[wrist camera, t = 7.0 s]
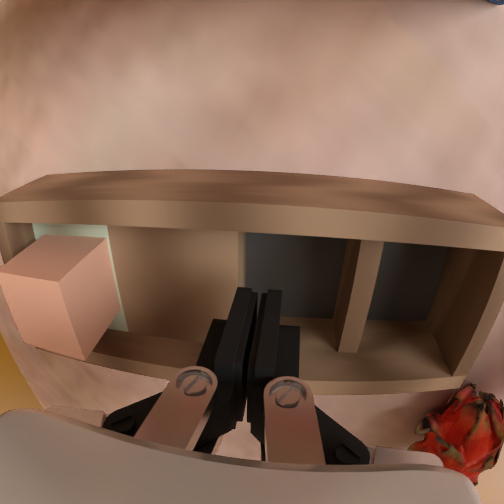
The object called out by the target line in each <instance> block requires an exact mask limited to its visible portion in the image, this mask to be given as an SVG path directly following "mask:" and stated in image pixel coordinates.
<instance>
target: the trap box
mask: <svg viewBox="0 0 504 504" xmlns="http://www.w3.org/2000/svg"><path fill="white" fill-rule="evenodd" d="M45 234H51V235H68V236H86V237H103V238H107V242H108V248H109V254H110V259H111V264H112V270H113V275H114V280H115V284H116V289H117V294H118V298H119V302H120V307H121V310H120V311H119V313H118V314H117V315H116V317H115V318H114V320H113V321H112V323H111V324H110V325H109V327H108V328H107V330H106V331H105V333H104V334H103V336H102V337H101V339H100V340H99V341H98V343H97V344H96V346H95V347H94V349H93V350H92V352H91V353H90V355H89V356H88V358H87V359H86V361H84V360H80V359H77V358H73V357H69V356H66V355H62V354H59V353H55V352H52V351H49V350H45V349H42V348H39V347H36V348H38V349H41V350H44V351H47V352H51V353H54V354H58V355H61V356H65V357H68V358H72V359H75V360H79V361H83V362H87V363H91V364H95V365H99V366H103V367H107V368H111V369H116V370H120V371H125V372H130V373H135V374H139V375H145V376H150V377H155V378H161V379H166V380H171V379H172V377H173V376H174V375H175V373H176V372H178V371H179V370H181V369H183V368H186V367H189V366H196V363H197V360H198V358H199V355H200V352H201V350H202V347H203V344H204V341H205V339H206V336H207V333H208V331H209V328H210V325H211V323H212V320H213V319H223V320H227V318H228V315H229V312H230V309H231V306H232V303H233V299H234V296H235V293H236V290H237V287H247V288H252V290H253V292H258V301H257V316H258V311H259V305H260V300H261V295H262V293H267V292H268V289H271V290H282V302H281V314H280V325H288V326H300V357H299V379H301V380H303V381H304V382H306V383H307V384H308V385H309V387H310V388H311V391H312V394H320V395H370V394H396V393H412V392H425V391H436V390H446V389H455V388H460V386H461V384H462V383H463V381H464V379H465V378H466V376H467V374H468V373H469V371H470V369H471V367H472V365H473V364H474V362H475V360H476V358H477V356H478V354H479V352H480V350H481V349H482V347H483V345H484V343H485V341H486V339H487V337H488V335H489V333H490V330H491V328H492V326H493V324H494V322H495V320H496V317H497V315H498V313H499V311H500V308H501V306H502V304H503V301H504V214H503V213H501V212H500V211H499V210H497V209H496V208H494V207H493V206H491V205H490V204H488V203H487V202H485V201H484V200H482V199H480V198H479V197H477V196H476V195H474V194H468V193H462V192H456V191H450V190H444V189H438V188H431V187H424V186H417V185H409V184H402V183H394V182H386V181H377V180H368V179H358V178H348V177H337V176H325V175H312V174H298V173H282V172H262V171H236V170H127V171H102V172H83V173H68V174H55V175H46V176H44V177H41V178H39V179H37V180H35V181H33V182H30V183H28V184H26V185H24V186H22V187H20V188H18V189H16V190H13V191H11V192H9V193H7V194H5V195H3V196H1V197H0V252H1V255H2V259H3V262H4V264H6V263H7V262H8V261H10V260H11V259H12V258H13V257H15V256H16V255H17V254H19V253H20V252H21V251H23V250H24V249H25V248H27V247H28V246H30V245H31V244H32V243H34V242H35V241H36V240H38V239H39V238H41V237H42V236H43V235H45Z"/></svg>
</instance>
